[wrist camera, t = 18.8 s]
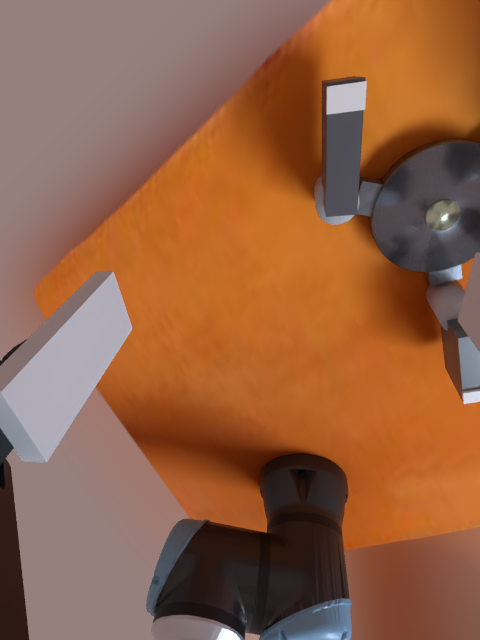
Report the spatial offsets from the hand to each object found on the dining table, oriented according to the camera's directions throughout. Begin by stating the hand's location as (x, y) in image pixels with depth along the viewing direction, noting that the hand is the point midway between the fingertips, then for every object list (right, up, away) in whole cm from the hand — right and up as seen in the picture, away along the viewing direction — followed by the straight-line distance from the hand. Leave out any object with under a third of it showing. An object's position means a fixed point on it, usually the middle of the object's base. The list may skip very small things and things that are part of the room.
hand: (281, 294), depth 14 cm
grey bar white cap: (+7, +15, +19) cm, 25 cm away
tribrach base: (+17, +10, +21) cm, 29 cm away
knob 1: (+22, -1, +28) cm, 36 cm away
